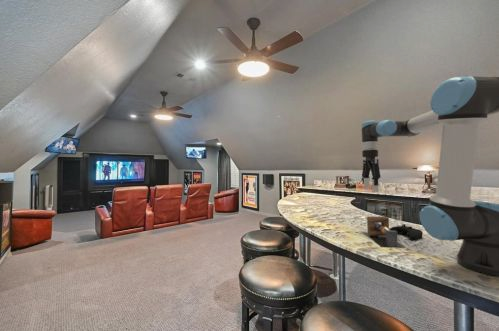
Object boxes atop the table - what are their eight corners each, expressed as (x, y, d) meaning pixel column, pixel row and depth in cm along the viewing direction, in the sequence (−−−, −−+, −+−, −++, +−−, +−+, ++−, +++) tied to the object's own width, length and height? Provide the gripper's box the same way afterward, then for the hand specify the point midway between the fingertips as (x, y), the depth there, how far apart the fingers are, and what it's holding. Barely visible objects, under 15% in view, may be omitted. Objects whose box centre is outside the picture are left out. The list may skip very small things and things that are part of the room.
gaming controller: (386, 224, 118) (401, 220, 120) (388, 235, 118) (403, 230, 120) (411, 232, 104) (427, 226, 106) (413, 244, 104) (429, 238, 107)
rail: (405, 247, 96) (405, 231, 97) (381, 247, 98) (380, 230, 98) (382, 233, 117) (382, 219, 117) (362, 232, 119) (362, 219, 119)
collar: (389, 235, 109) (388, 217, 109) (370, 235, 111) (369, 217, 111) (386, 234, 112) (385, 216, 112) (367, 233, 114) (367, 216, 114)
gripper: (387, 147, 107) (388, 193, 107) (368, 151, 130) (369, 188, 130) (371, 148, 108) (372, 193, 108) (355, 151, 131) (356, 188, 131)
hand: (371, 190), depth 119 cm, fingers open, 10 cm apart
